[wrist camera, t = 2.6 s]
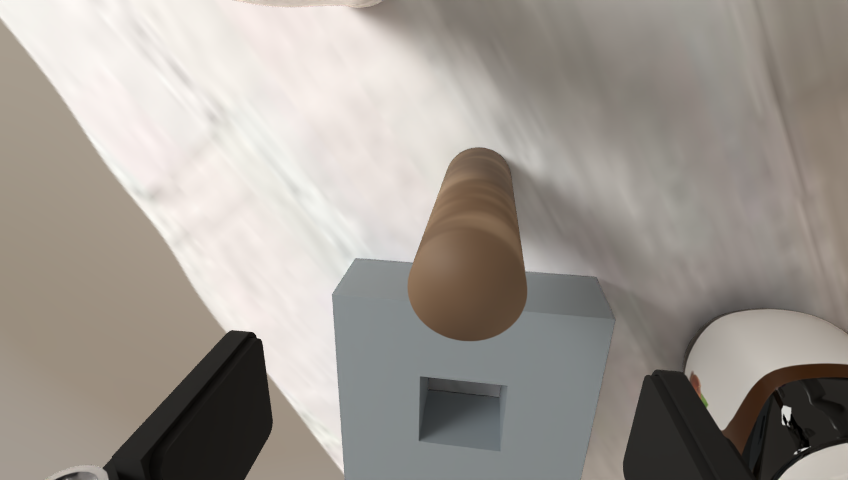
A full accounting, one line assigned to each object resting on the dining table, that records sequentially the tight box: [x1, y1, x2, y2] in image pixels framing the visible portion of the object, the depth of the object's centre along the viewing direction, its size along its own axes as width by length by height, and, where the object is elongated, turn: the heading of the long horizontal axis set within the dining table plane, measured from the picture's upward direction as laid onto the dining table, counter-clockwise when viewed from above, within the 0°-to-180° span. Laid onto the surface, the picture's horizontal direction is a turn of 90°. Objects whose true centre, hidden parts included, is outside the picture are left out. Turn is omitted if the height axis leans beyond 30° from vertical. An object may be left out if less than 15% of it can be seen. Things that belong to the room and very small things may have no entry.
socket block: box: [332, 258, 615, 480], centre depth 31 cm, size 16×16×5 cm
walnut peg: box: [407, 148, 527, 341], centre depth 22 cm, size 4×4×14 cm
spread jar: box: [683, 308, 848, 480], centre depth 25 cm, size 12×11×12 cm
